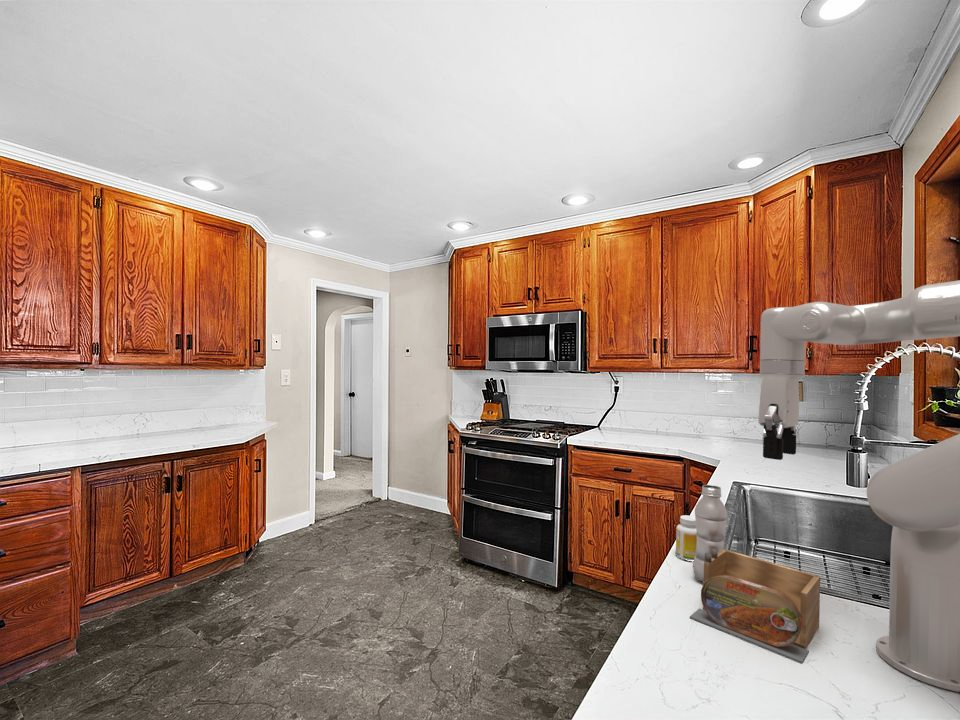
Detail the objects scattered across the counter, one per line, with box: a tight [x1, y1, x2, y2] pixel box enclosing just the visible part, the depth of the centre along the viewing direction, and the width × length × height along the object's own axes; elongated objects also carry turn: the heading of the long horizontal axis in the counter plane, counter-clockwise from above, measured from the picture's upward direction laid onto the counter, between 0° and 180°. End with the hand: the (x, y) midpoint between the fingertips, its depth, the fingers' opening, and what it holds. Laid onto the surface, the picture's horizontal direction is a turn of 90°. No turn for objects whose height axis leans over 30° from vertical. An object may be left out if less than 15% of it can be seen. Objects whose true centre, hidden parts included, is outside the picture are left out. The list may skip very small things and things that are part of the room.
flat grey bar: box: [689, 608, 810, 664], centre depth 79 cm, size 17×4×1 cm, turn 44°
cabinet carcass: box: [702, 548, 821, 650], centre depth 85 cm, size 16×10×10 cm, turn 44°
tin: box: [700, 575, 802, 647], centre depth 79 cm, size 15×3×8 cm, turn 44°
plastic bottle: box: [692, 484, 729, 583], centre depth 99 cm, size 6×7×20 cm
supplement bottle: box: [675, 514, 697, 560], centre depth 112 cm, size 5×5×10 cm
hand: (779, 456), depth 92 cm, fingers open, 9 cm apart
